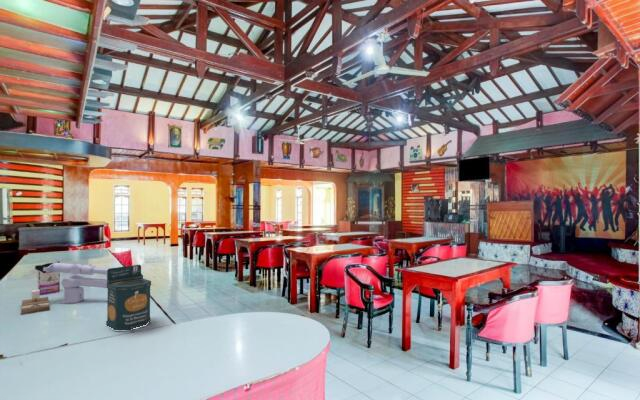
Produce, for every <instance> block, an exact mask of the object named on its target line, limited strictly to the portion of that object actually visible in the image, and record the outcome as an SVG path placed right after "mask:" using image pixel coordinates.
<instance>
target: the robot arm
mask: <svg viewBox="0 0 640 400" xmlns="http://www.w3.org/2000/svg"><path fill="white" fill-rule="evenodd" d="M110 268H111V267H108V268H107V267H96V266H95V265H93V263H91V264H84V263H82V262H81V263H67V262H65V263H63V262H60V261H58V260H54V261H53V262H49V263H43V264H39V265H35V266H34V270H36V271H38V270H39V271H41V272H42V273H46V272H47V271H50V272H60V274H62V273H63V274H71V275H70V276H67V277H64V278H62V279H61V281H60V282H61V283H60V284H61V286H62V287H63V292H64V294H63V296H64V297H63V298H64V299H63V300H62V301H60V304H77V303H79V302H82V301H84V300H85V298H84V297H85V290H84V287H88V288H89V287H92V288H101V289H102V288H103V289H108V288H107V278H96V277H95V278H92V277H85V276H82V275H87V276H90V275H91V276H93V275H94V274H100V275H106V277H107V270H108V269H110Z"/></svg>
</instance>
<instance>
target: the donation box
mask: <svg viewBox="0 0 640 400" xmlns="http://www.w3.org/2000/svg"><path fill="white" fill-rule="evenodd" d="M109 268H110V269H108V270H107V276H106V279H107V288H106V289H107V308H106V309H107V310H106V311H107V316H106V317H107V319H106V321H105V325H107V326H106V327H108V326H109V327H111V328H113V329H114V330H131V329H133V328H136V327H140V326H143V325H146V324H147V323H148V322H150V321H152V319H151V286H152V281H151V280H149V279H145V278H144V275H143V273H142V265H141V264H134V265H133V264H132V265H127V266H119V267H112V268H111V267H109ZM150 323H151V322H150ZM109 327H108V328H109ZM111 328H110V329H111ZM114 330H113V331H114ZM131 331H132V330H131Z"/></svg>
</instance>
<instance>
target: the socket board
mask: <svg viewBox="0 0 640 400" xmlns="http://www.w3.org/2000/svg"><path fill="white" fill-rule="evenodd" d="M21 301H22V302H21V308H20V315H21V316H22V315H27V314H34V313H35V314H36V313H41V312H45V311H47V312H48V311H50V308H51V307H50V305H51V304H50V299H49V296H45V297H40V298H39V301H37V300H35V301H34V302H32V298H30V299H23V300H21Z"/></svg>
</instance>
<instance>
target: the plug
mask: <svg viewBox="0 0 640 400" xmlns="http://www.w3.org/2000/svg"><path fill="white" fill-rule="evenodd" d="M39 298H41V295H40V289H39V290H38V289H34V290H33V289H32V290H31V299H32V302H34V301H35V300H37V301H39Z"/></svg>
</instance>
